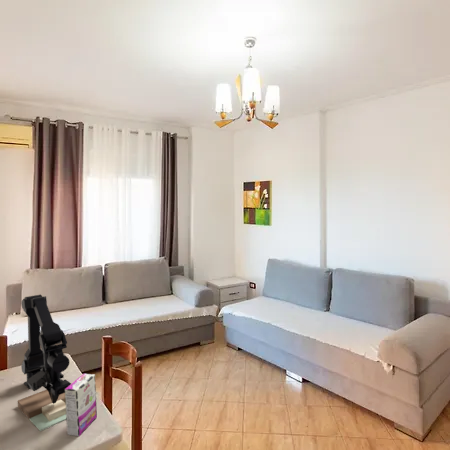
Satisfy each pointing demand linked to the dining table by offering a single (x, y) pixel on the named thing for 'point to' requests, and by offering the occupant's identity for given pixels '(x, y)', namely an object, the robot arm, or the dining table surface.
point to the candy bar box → (80, 404)
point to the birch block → (54, 410)
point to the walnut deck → (36, 403)
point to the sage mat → (45, 421)
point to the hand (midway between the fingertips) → (54, 402)
